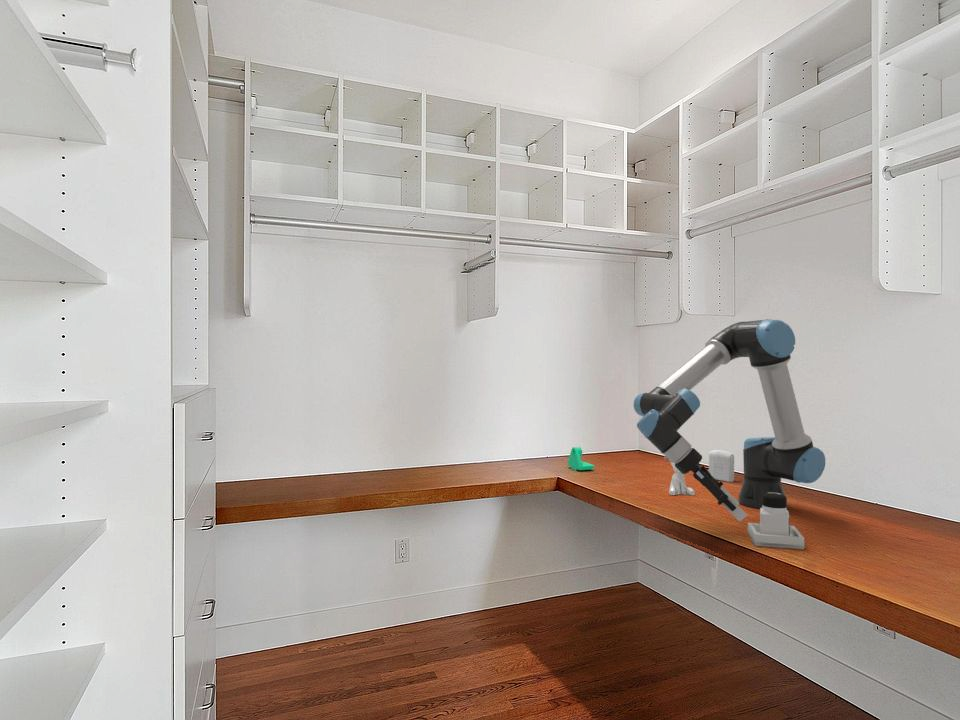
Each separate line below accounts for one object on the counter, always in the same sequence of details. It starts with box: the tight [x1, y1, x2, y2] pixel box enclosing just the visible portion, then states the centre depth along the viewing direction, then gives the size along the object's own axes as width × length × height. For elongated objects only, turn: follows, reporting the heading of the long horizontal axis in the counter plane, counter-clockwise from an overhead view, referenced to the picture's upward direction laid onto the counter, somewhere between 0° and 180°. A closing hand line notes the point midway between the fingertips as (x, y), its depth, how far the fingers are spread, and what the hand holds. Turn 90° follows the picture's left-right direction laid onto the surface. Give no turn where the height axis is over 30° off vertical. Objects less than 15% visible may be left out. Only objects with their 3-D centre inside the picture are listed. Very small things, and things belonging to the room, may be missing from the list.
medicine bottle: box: [759, 493, 791, 536], centre depth 163 cm, size 7×7×12 cm
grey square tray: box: [747, 522, 805, 550], centre depth 163 cm, size 12×12×3 cm
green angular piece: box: [567, 446, 595, 471], centre depth 270 cm, size 12×8×10 cm, turn 17°
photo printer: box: [708, 449, 735, 483], centre depth 245 cm, size 10×4×12 cm, turn 38°
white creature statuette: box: [668, 462, 696, 496], centre depth 221 cm, size 10×9×12 cm
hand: (739, 512), depth 166 cm, fingers open, 13 cm apart
